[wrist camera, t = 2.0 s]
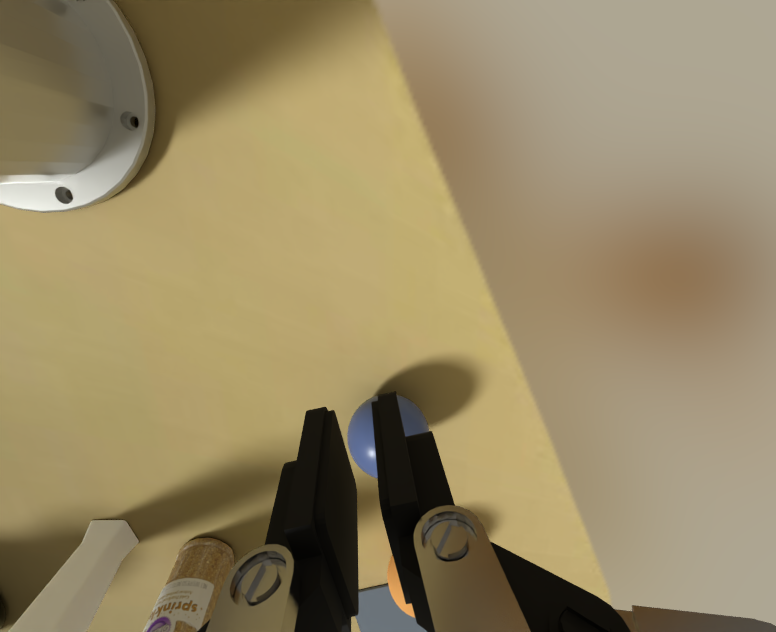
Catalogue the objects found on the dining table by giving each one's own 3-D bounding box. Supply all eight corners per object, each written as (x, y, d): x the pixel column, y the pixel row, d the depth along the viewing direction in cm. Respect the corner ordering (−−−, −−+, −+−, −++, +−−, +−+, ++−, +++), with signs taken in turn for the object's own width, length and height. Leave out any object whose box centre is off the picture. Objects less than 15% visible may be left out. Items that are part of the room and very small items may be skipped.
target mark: (348, 592, 35) (347, 594, 35) (498, 559, 35) (499, 561, 35) (378, 681, 40) (379, 684, 40) (510, 651, 40) (511, 654, 40)
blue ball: (340, 388, 28) (337, 437, 23) (415, 372, 28) (429, 417, 23) (356, 449, 30) (358, 507, 25) (427, 433, 30) (443, 489, 25)
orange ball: (379, 529, 33) (384, 595, 28) (442, 514, 33) (459, 578, 28) (391, 573, 35) (398, 642, 30) (451, 559, 35) (468, 626, 30)
